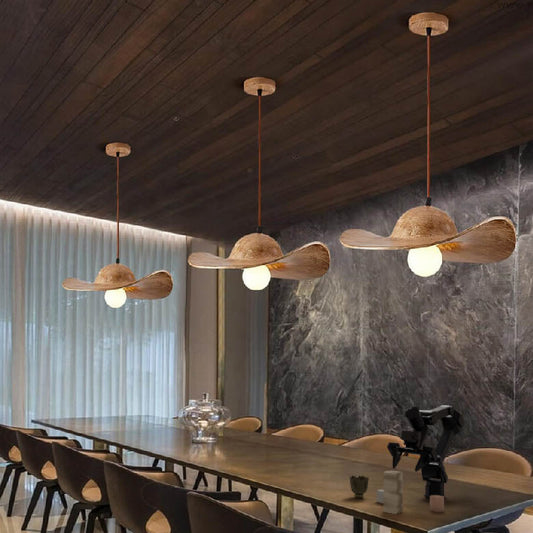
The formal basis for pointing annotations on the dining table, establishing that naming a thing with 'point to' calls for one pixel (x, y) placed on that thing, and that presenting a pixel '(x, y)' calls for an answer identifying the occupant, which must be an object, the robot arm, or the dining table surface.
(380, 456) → the dining table surface
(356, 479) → the cup
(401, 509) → the birch block
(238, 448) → the dining table surface
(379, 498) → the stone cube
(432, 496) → the pink cube
